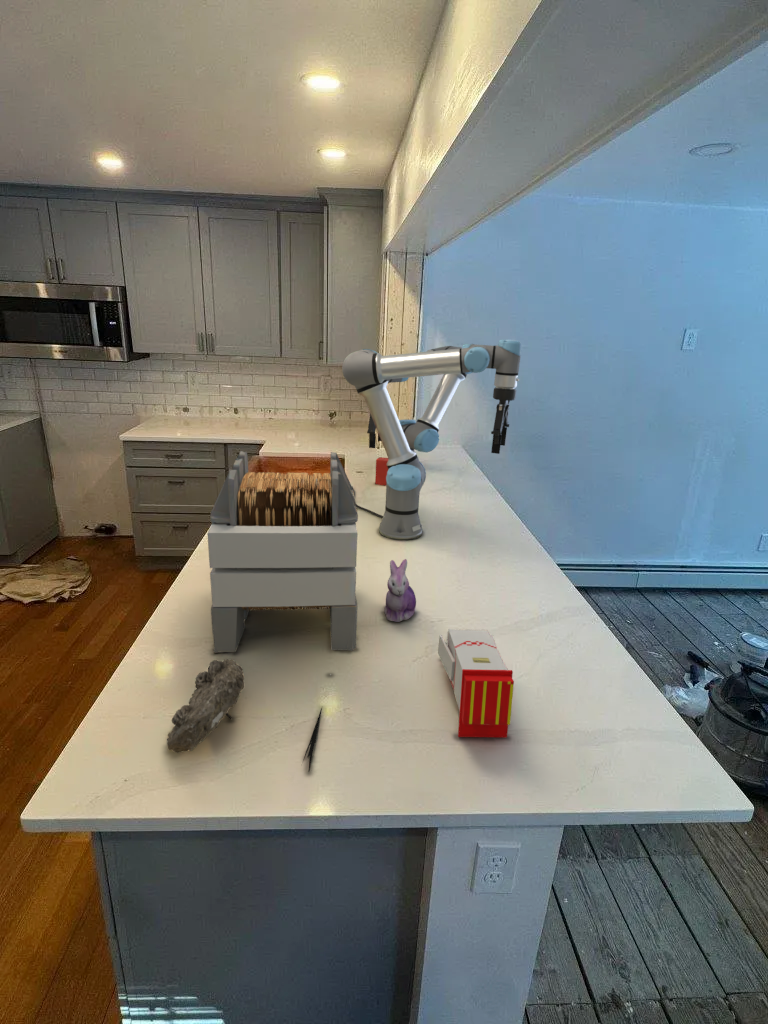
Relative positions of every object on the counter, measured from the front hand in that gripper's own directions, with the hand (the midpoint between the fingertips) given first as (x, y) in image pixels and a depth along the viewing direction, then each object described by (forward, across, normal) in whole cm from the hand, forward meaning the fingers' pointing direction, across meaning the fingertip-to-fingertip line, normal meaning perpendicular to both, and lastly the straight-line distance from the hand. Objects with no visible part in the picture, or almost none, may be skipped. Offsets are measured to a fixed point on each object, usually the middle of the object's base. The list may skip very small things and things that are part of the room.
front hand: (498, 449), depth 199 cm
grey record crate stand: (+30, -84, +38) cm, 97 cm away
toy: (+30, -97, -11) cm, 102 cm away
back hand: (+14, +41, +60) cm, 74 cm away
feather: (+30, -117, +14) cm, 121 cm away
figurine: (+30, -73, +12) cm, 79 cm away
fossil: (+30, -124, +33) cm, 131 cm away
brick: (+30, +35, +53) cm, 71 cm away
